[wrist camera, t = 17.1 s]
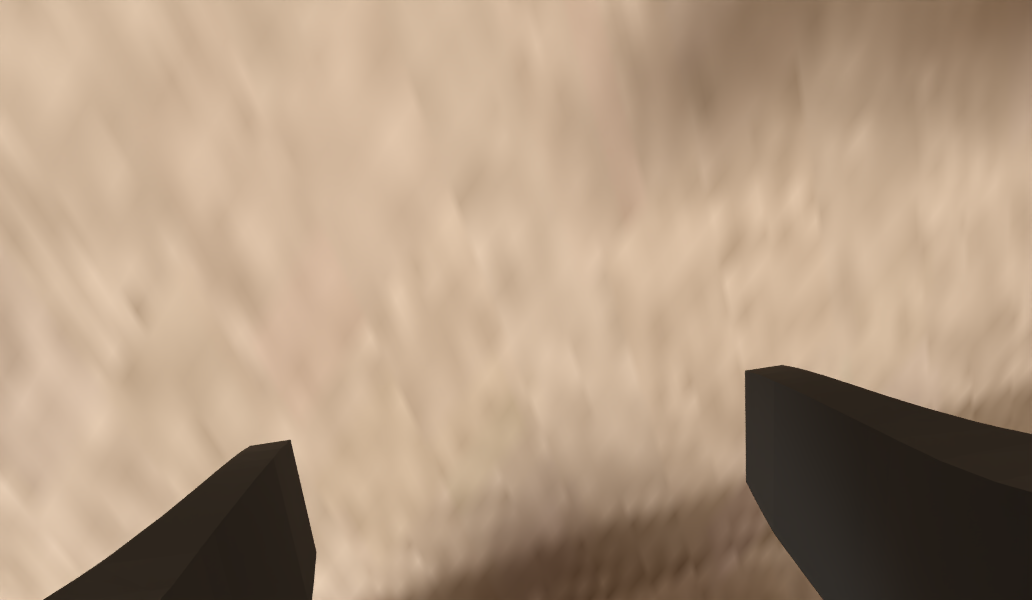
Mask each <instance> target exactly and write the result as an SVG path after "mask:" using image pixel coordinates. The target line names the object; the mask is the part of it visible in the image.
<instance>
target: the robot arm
mask: <svg viewBox="0 0 1032 600" xmlns="http://www.w3.org/2000/svg"><path fill="white" fill-rule="evenodd" d="M745 411H746V482H747V484H748V486H749V488H750V490H751V492H752V494H753V496H754V498H755V500H756V502H757V504H758V505H759V507H760V509H761V511H762V513H763V515H764V516H765V518H766V520H767V522H768V524H769V525H770V527H771V529H772V531H773V532H774V534H775V535H776V537H777V538H778V539H779V541H780V542H781V544H782V545H783V546H784V548H785V549H786V550H787V552H788V553H789V554H790V556H791V557H792V558H793V560H794V561H795V563H796V564H797V565H798V567H799V568H800V569H801V571H802V572H803V573H804V575H805V576H806V577H807V579H808V580H809V581H810V583H811V584H812V585H813V587H814V588H815V589H816V591H817V592H818V593H819V595H820V596H821V597H822V599H823V600H1032V434H1029V433H1024V432H1019V431H1014V430H1009V429H1005V428H1000V427H996V426H991V425H987V424H983V423H979V422H975V421H971V420H967V419H964V418H960V417H956V416H953V415H949V414H946V413H942V412H938V411H935V410H931V409H928V408H924V407H921V406H918V405H914V404H911V403H908V402H904V401H901V400H898V399H895V398H892V397H888V396H885V395H882V394H879V393H876V392H873V391H870V390H867V389H864V388H861V387H858V386H855V385H852V384H848V383H845V382H842V381H839V380H836V379H833V378H830V377H827V376H824V375H820V374H817V373H814V372H810V371H807V370H803V369H799V368H795V367H790V366H784V365H779V366H773V367H766V368H760V369H753V370H747V371H745ZM315 563H316V549H315V544H314V540H313V536H312V531H311V527H310V523H309V518H308V514H307V510H306V505H305V501H304V497H303V492H302V488H301V484H300V479H299V475H298V471H297V466H296V462H295V457H294V453H293V449H292V444H291V440H286V441H280V442H273V443H266V444H260V445H253V446H249V447H248V448H246V449H245V450H243V451H242V452H240V453H239V454H237V455H236V456H235V457H233V458H232V459H231V460H230V461H228V462H227V463H226V464H225V465H223V466H222V467H221V468H220V469H219V470H217V471H216V472H215V473H214V474H213V475H211V476H210V477H209V478H208V479H207V480H205V481H204V482H203V483H202V484H201V485H199V486H198V487H197V488H196V489H195V490H193V491H192V492H191V493H190V494H189V495H187V496H186V497H185V498H184V499H182V500H181V501H180V502H179V503H178V504H176V505H175V506H174V507H173V508H172V509H170V510H169V511H168V512H167V513H165V514H164V515H163V516H162V517H160V518H159V519H158V520H156V521H155V522H154V523H152V524H151V525H150V526H148V527H147V528H146V529H144V530H143V531H142V532H141V533H139V534H138V535H137V536H135V537H134V538H133V539H131V540H130V541H129V542H127V543H126V544H125V545H123V546H122V547H121V548H119V549H118V550H117V551H116V552H114V553H113V554H112V555H110V556H109V557H107V558H106V559H105V560H103V561H102V562H100V563H99V564H97V565H96V566H95V567H93V568H92V569H90V570H89V571H87V572H86V573H84V574H83V575H81V576H80V577H78V578H77V579H75V580H74V581H72V582H70V583H69V584H67V585H66V586H64V587H63V588H61V589H59V590H58V591H56V592H55V593H53V594H52V595H50V596H48V597H47V598H45V599H44V600H312V594H313V585H314V574H315Z"/></svg>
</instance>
